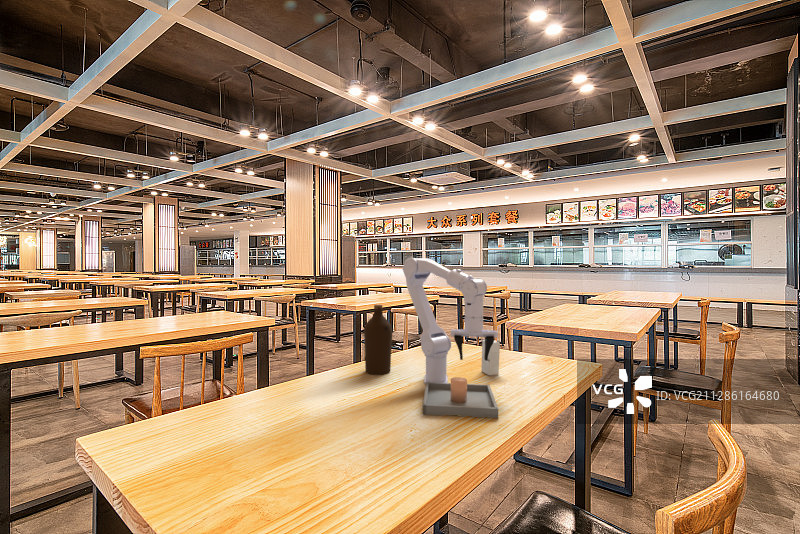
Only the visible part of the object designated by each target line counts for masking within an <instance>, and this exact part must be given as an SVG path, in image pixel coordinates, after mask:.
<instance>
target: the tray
mask: <svg viewBox="0 0 800 534" xmlns="http://www.w3.org/2000/svg"><path fill="white" fill-rule="evenodd" d="M423 396H424V397H423V402H422V404H423V405H422V410H423V411H422V414H424V415H426V416H443V415H460V416H459V417H464V416H472V417H471V418H484V417H487V419H488V418H489V419H499V406H498V404H497V402H496V399H495V396H494V394H493V391H492V388H491V386H490V384H481V383H480V384H478V383H467V402H465V403H455V402H452V401H451V382H450V383H449V382H448V383H431V382H426V383H425V389H424V395H423ZM424 415H423V416H424Z"/></svg>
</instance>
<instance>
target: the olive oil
mask: <svg viewBox="0 0 800 534" xmlns="http://www.w3.org/2000/svg"><path fill="white" fill-rule="evenodd" d="M383 311H384V310H383V304H374V305H373V315H372V317H371V318H370V319H369V320H368V321H367V322H366V324H365V325H364V328H363V329H364V330H363V339H364V361H365V362H364V363H365V366H364V368H365V373H367V374H369V375H374V376H375V375H376V376H377V375H379V376H380V375H387V374H388V373H390V372H391V364H392V360H391V359H392V345H393V344H392V341H393V328H392V325H391V323H390V321H388V319H387V318H386V317H385V316H384V315H383V313H384V312H383Z"/></svg>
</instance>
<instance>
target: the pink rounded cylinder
mask: <svg viewBox="0 0 800 534" xmlns="http://www.w3.org/2000/svg"><path fill="white" fill-rule="evenodd" d="M450 383H451V401H452V402H455V403H465V402H467V384H468V379H467V378H465V377H461V376H460V377H459V376H456V377H451V378H450Z"/></svg>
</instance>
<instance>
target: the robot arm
mask: <svg viewBox="0 0 800 534" xmlns="http://www.w3.org/2000/svg"><path fill="white" fill-rule="evenodd" d="M402 271H403V274H404V277H405V281H406V282H405V283H406V288H407V290H408V293H409V295H410V298H411V301H412V304H413V307H414V309H415V312H416V315H417V318H418V320H419V323H420V326H421V329H422V332H421V334H420V336H419V339H420V344H421V345H420V347H421V351H422V353H423V354H424V356H425V374H424V381H423V384H426V382H431V383H449V382H448V380H449V379H448V375H447V373H448V372H447V365H448V363H447V359H448V358H447V357H448V356H447V355H449V353H448V352H450V350H451V348H452V340H451V338H450V337H452V338H454V341H455V344H456V347H457V349H458V352H459V353H458V354H459V360H460V361H463V360H464V359H463V358H464V356H463V337H466V338H467V337H468V338H469V337H470V338H484V340H485V354H484V359H485V361H487V359H488V354H489V351H490V348H491V346H492V344H493V343H494V340H495V339H497V338H498V331H497V330H490V329H484V296H485V295H486V293H487V291H488V286H487V283H486V282H485V281H484V279H482V278H478V277H477V278H474V277H473V275H471V274H467V273H464V272H462V269H459V268H456V269H452V270H451V269H448V268H447V267H445V266H443V265H442V264H440V263H438V262H436V261H435V260H433V259H430V258H429V257H421V258H420V257H419V258H418V257H416V258H415V257H407V258H406V260H405V261H404V263H403V266H402ZM431 274H433V275H435V276H437V277H440V278H442V279H444V280H445V281H446V285H448V286H450V287H452V288H454V289H456V290H457V291H459V292H461V294H462V295H463V301H464V329H463V328H461V329H459V328H458V329H450V337H449V336H448V335H447V333H446V331H445V329H443V328H442V327H441V326H440V325H438V323H437V322H438V321H437V320H436V317H435V315H434V312H433V309H432V307H431V303H430V302H429V300H428V296H427V294H426V291H425V289H424V284H425V282H426V281H427V279H429V277H430V275H431Z"/></svg>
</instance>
